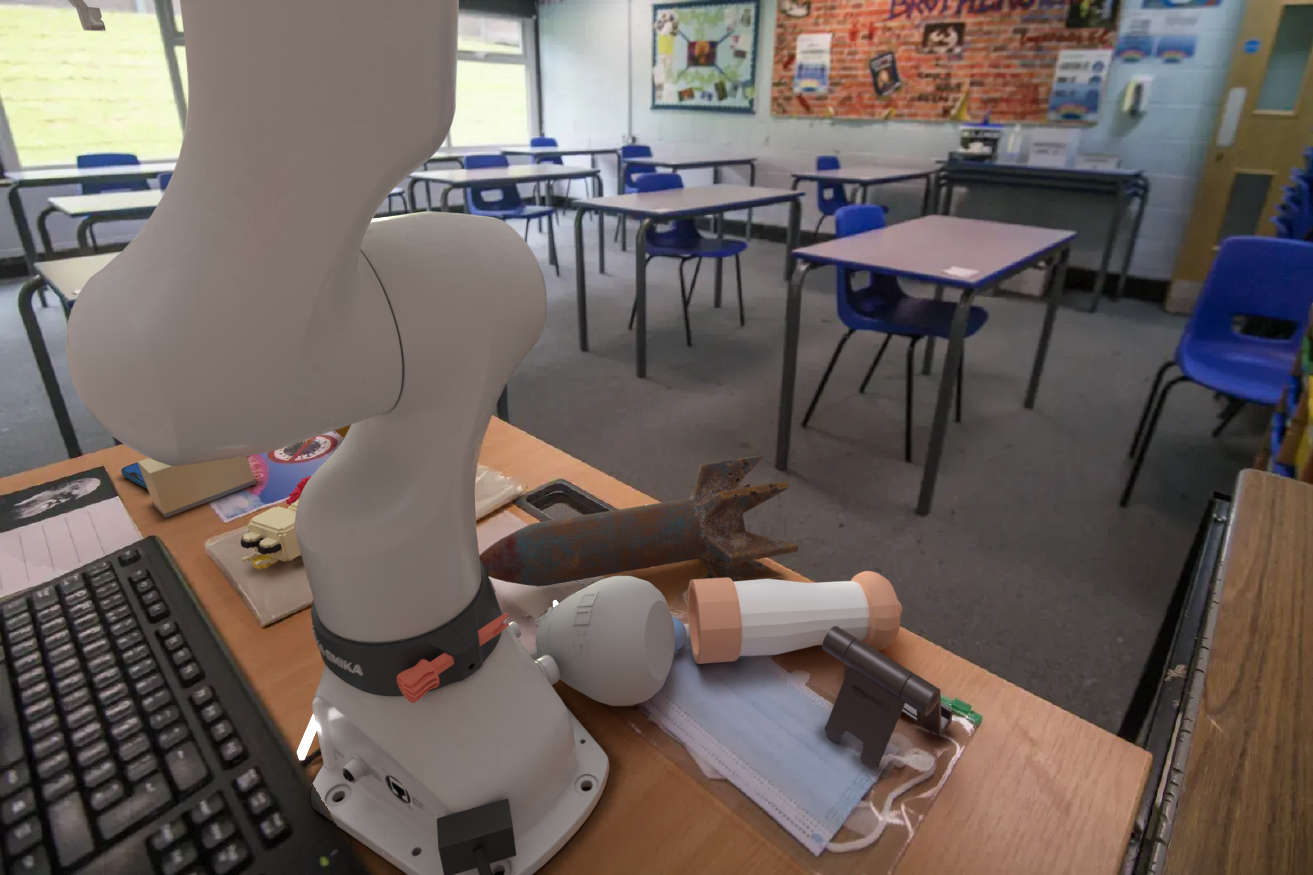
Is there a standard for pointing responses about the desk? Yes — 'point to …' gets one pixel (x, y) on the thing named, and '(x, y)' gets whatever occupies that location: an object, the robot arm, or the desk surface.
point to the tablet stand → (878, 697)
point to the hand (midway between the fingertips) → (155, 33)
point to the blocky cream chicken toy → (274, 533)
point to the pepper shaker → (787, 615)
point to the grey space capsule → (610, 640)
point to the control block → (193, 482)
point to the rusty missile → (648, 536)
